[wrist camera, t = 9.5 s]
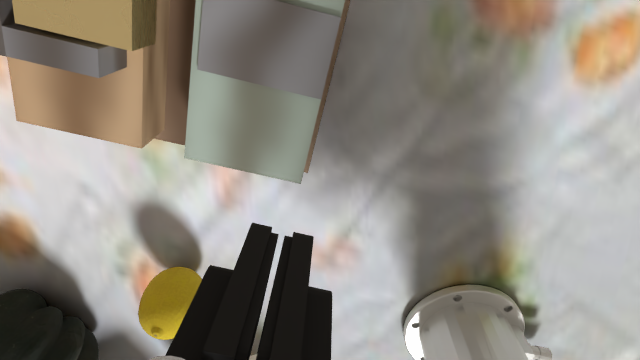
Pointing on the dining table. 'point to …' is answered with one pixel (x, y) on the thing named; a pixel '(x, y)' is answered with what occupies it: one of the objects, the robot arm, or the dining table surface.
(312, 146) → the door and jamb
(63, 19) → the brass bolt
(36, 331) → the squash
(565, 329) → the dining table surface
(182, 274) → the lemon
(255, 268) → the robot arm
